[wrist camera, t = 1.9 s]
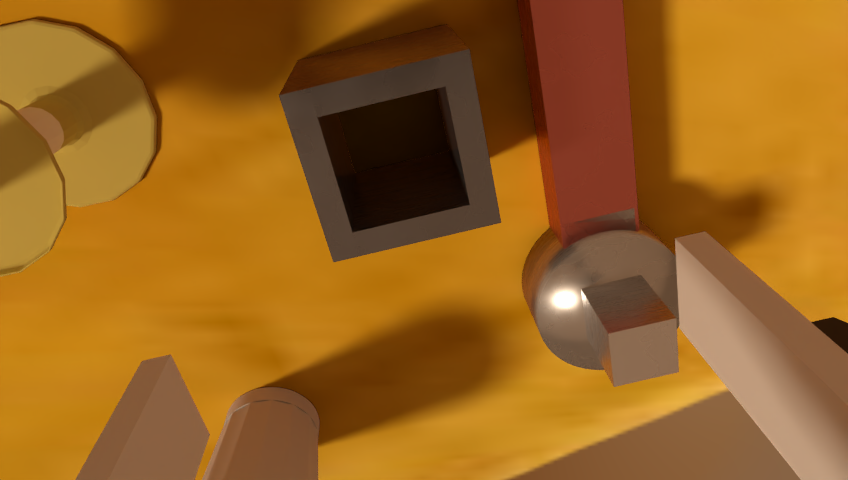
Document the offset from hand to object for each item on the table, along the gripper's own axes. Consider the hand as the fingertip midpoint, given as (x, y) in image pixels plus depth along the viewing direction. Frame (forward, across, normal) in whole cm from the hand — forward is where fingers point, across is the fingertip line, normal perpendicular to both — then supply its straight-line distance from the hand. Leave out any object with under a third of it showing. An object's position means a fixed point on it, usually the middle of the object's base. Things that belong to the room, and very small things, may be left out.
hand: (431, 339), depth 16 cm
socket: (+21, 0, +1) cm, 21 cm away
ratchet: (+21, +10, -5) cm, 24 cm away
